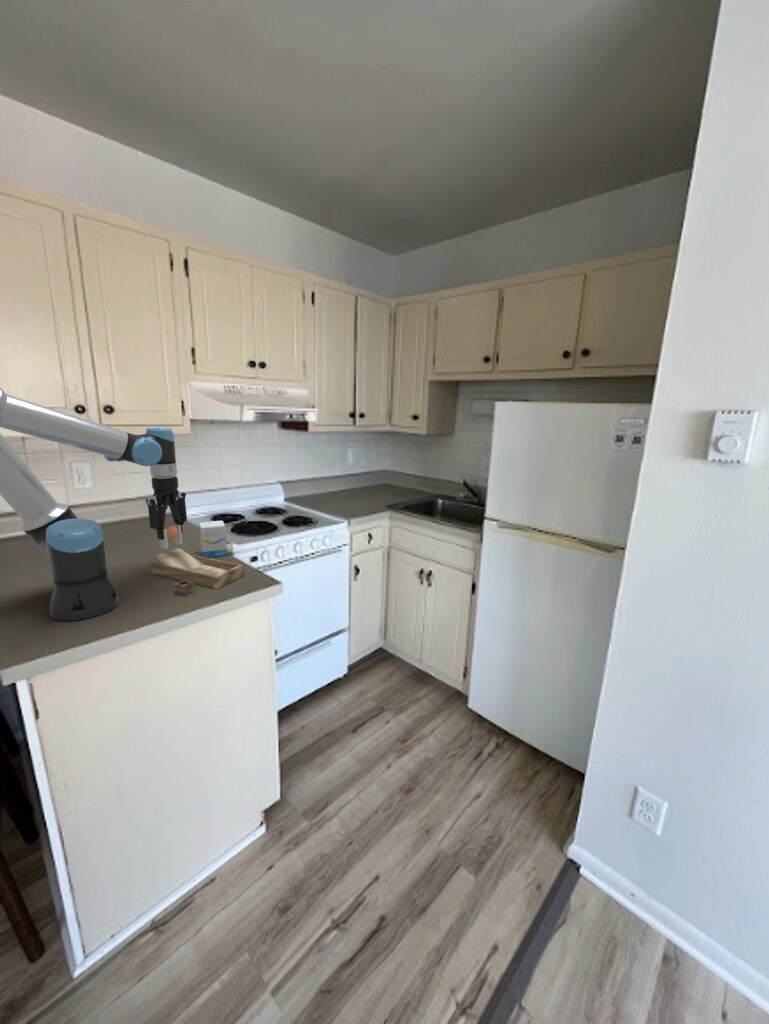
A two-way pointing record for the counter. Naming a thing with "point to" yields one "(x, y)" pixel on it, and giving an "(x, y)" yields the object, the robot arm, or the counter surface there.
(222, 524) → the ink box
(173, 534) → the ball
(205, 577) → the tray
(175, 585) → the small brown open box
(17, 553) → the counter surface
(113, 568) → the counter surface
